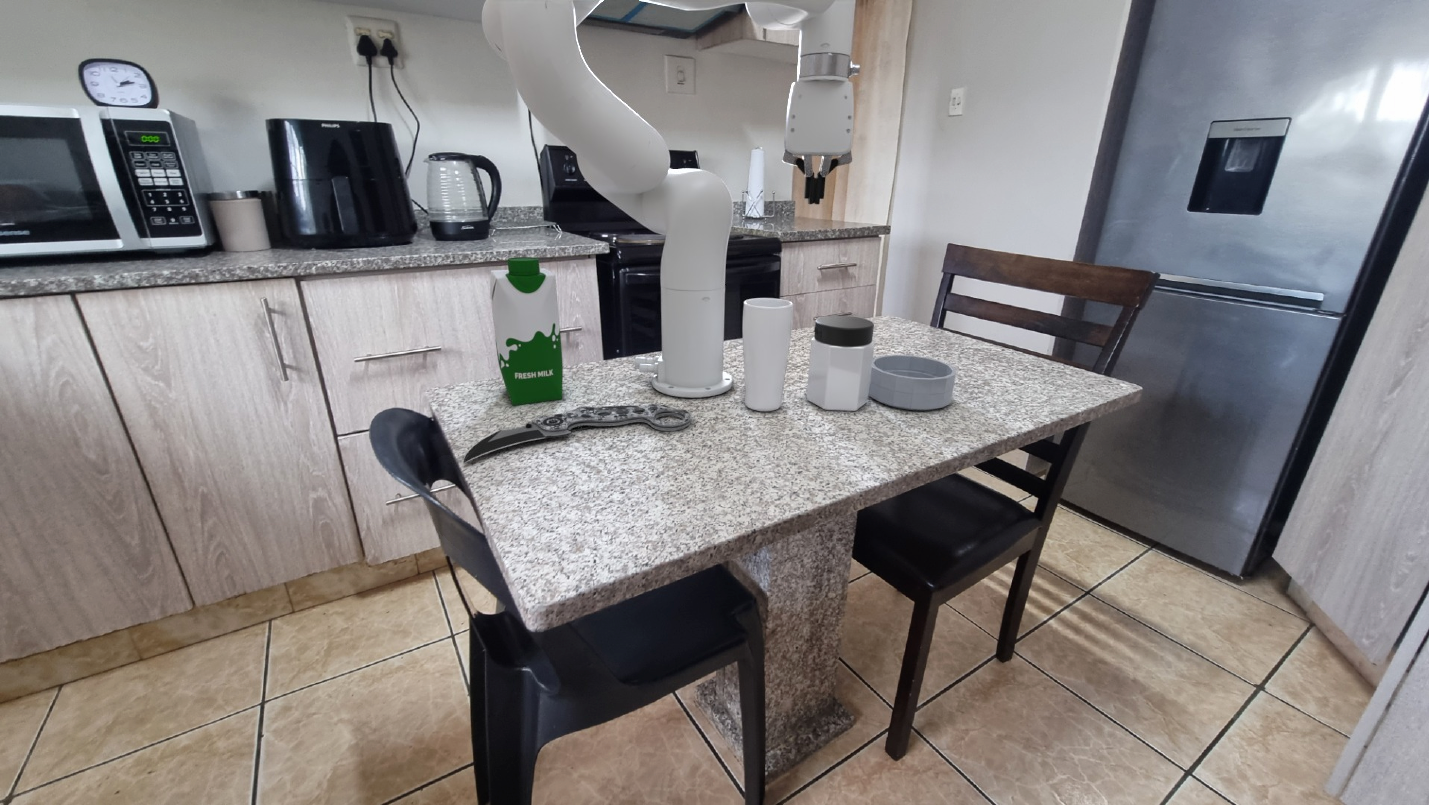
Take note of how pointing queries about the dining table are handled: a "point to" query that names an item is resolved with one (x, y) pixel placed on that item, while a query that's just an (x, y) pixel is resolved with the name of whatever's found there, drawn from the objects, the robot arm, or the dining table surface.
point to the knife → (580, 424)
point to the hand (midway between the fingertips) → (813, 203)
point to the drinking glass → (766, 350)
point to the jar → (840, 363)
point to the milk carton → (527, 331)
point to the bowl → (912, 382)
